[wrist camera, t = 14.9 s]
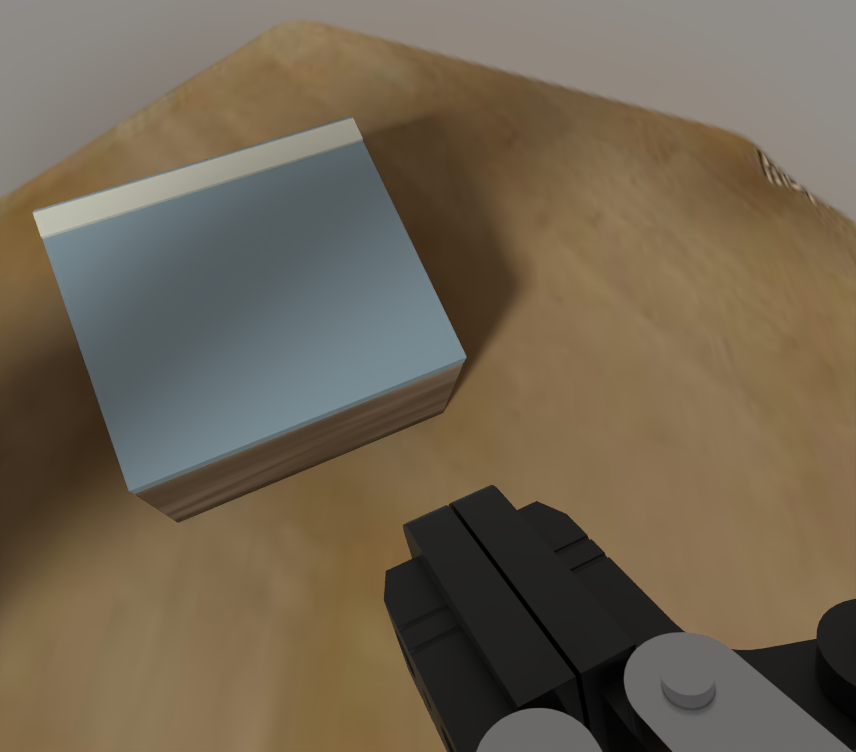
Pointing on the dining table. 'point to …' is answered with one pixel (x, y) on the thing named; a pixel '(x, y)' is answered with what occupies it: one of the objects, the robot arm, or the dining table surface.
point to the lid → (243, 299)
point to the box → (302, 448)
